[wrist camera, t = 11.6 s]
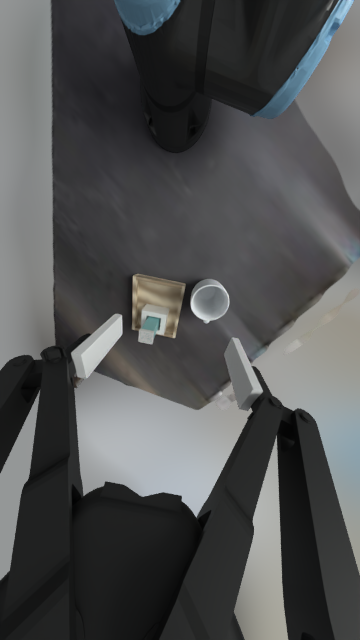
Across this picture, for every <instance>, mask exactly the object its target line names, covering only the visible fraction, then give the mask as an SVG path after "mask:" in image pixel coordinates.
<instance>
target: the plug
mask: <svg viewBox="0 0 360 640" xmlns="http://www.w3.org/2000/svg"><path fill="white" fill-rule="evenodd" d="M159 325H160V318H157V317H152V316H149V317H148V319H147V320H146V322H145V323H144V325H143V327H142V328H140V330H139V342H143V343H148V344H152V343H153V339H154V337H155V334H156V332H157V330H158V327H159Z"/></svg>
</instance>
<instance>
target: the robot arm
mask: <svg viewBox="0 0 360 640" xmlns="http://www.w3.org/2000/svg"><path fill="white" fill-rule="evenodd" d="M114 1H115V5H116V7H117V9H118V13H119V14H120V17H121V20H122V23H123V26H124V29H125V32H126V35H127V38H128V41H129V44H130V47H131V50H132V53H133V56H134V59H135V62H136V65H137V68H138V71H139V74H140V87H141V102H142V108H143V112H144V116H145V119H146V122H147V125H148V127H149V130H150V132H151V134H152V136H153V137H154V139H155V140H156V142H157V143H158V144H159V145H160V146H161V147H162V148H164V149H165V150H167V151H170V152H176V153H177V152H183V151H185V150H187V149H189V148H190V147H192V146H193V145H194V144H195V143H196V142H197V140H198V139H199V138H200V136H201V134H202V133H203V131H204V128H205V126H206V123H207V120H208V117H209V113H210V107H211V99H214V100H217V101H219V102H221V103H224V104H226V105H229V106H231V107H233V108H236V109H238V110H241V111H243V112H245V113H248V114H249V115H250V116H253V117H255V116H259V117H263V118H267V119H273V118H275V117H277V116H279V115H280V114H281V113H282V112H284V111H285V110H286V108H287V107H288V106H289V105H290V104H291V103H292V102H293V100H294V99H295V98H296V96H297V95H298V93H299V92H300V91H301V89H302V88H303V86H304V85H305V84H306V82H307V80H308V79H309V77H310V76H311V74H312V72H313V71H314V70H315V68H316V66H317V65H318V63H319V62H320V60H321V58H322V57H323V55H324V53H325V52H326V50H327V48H328V46H329V43H330V40H331V38H332V36H333V35H334V33H335V32H336V30H337V29H338V28H339V26H340V25H341V23H342V21H343V20H344V18H345V16H346V14H347V12H348V11H349V9H350V7H351V5H352V3H353V1H354V0H114ZM121 335H122V315H120V314H114V315H113V316H112V317H111V318H110V319H109V320H108V321H106V322H105V323H104V324H103V325H102V326H101V327H100V328H99V329H97V330H96V331H95V332H94V333H93V334H86V335H84V336H82V337H81V338H79V339H78V340H77V341H76V342H75V343H73V344H72V345H71V346H70V347H68V348H67V349H66V350H65V349H64V347H62V346H58V345H57V346H51V347H48V348H46V349H44V350H43V351H42V352H41V354H40V355H41V357H42V360H33V358H32V356H30V355H22V356H18V357H15V358H13V359H11V360H9V362H7V363H6V364H5V366H4V367H3V368H2V369H1V370H0V473H1V471H2V469H3V466H4V464H5V462H6V460H7V458H8V456H9V454H10V452H11V450H12V447H13V445H14V443H15V441H16V439H17V437H18V435H19V433H20V431H21V429H22V426H23V424H24V422H25V420H26V418H27V416H28V414H29V412H30V410H31V407H32V405H33V403H34V401H35V399H36V397H37V394H38V393H39V390H40V396H39V404H38V412H37V420H36V428H35V436H34V444H33V452H32V460H31V469H30V475H29V479H28V481H27V482H26V483H25V484H24V487H23V490H22V494H21V499H20V506H19V513H18V520H17V526H16V533H15V540H14V547H13V553H12V560H11V567H10V571H9V572H8V573H7V574H6V575H5V576H4V577H3V578H2V580H0V640H245V639H244V637H243V634H242V632H241V629H240V626H239V624H238V621H237V619H236V616H235V614H234V608H235V604H236V600H237V596H238V593H239V589H240V585H241V581H242V578H243V574H244V570H245V566H246V562H247V559H248V554H249V551H250V547H251V543H252V539H253V535H254V526H253V523H252V521H253V516H254V512H255V508H256V505H257V501H258V498H259V495H260V491H261V487H262V484H263V481H264V477H265V473H266V470H267V467H268V463H269V459H270V456H271V452H272V449H273V446H274V442H275V439H276V435H277V450H278V474H279V475H278V476H279V502H280V503H279V504H280V531H281V556H282V584H283V598H284V609H285V617H286V624H287V633H288V639H289V640H360V575H359V572H358V568H357V564H356V561H355V557H354V554H353V550H352V547H351V543H350V540H349V537H348V533H347V529H346V526H345V522H344V519H343V515H342V511H341V508H340V505H339V501H338V498H337V494H336V490H335V487H334V483H333V480H332V476H331V473H330V469H329V466H328V462H327V458H326V455H325V451H324V448H323V444H322V441H321V437H320V434H319V430H318V427H317V424H316V421H315V420H314V419H313V417H312V416H311V415H310V414H309V413H307V412H306V411H304V410H302V409H296V410H295V411H292V410H290V409H288V408H286V407H284V406H283V405H282V403H281V402H280V401H279V400H278V399H277V398H276V397H274V396H272V394H271V392H270V390H269V388H268V386H267V385H266V383H265V381H264V379H263V377H262V375H261V373H260V371H259V370H258V369H257V368H256V367H254V366H251V364H250V362H249V360H248V358H247V356H246V354H245V352H244V350H243V347H242V345H241V343H240V341H239V339H238V338H233V337H232V338H231V340H230V343H229V345H228V347H227V349H226V351H225V354H224V356H225V360H226V363H227V367H228V371H229V374H230V378H231V382H232V385H233V389H234V392H235V396H236V400H237V403H238V407H239V409H242V410H247V411H248V410H249V409H250V407H251V408H252V411H253V412H252V413H251V414H250V416H249V417H248V421H247V423H246V425H245V427H244V428H243V430H242V433H241V434H240V436H239V438H238V441H237V442H236V444H235V446H234V448H233V450H232V452H231V454H230V456H229V458H228V460H227V462H226V464H225V466H224V468H223V470H222V472H221V474H220V476H219V478H218V480H217V482H216V484H215V486H214V488H213V490H212V492H211V494H210V495H209V497H208V499H207V501H206V502H205V503H204V505H203V507H202V509H201V510H200V512H199V514H198V516H197V518H196V517H195V515H194V514H193V512H192V511H191V510H190V508H189V507H188V506H187V505H186V504H185V503H183V502H182V501H181V499H182V496H179V495H174V494H168V493H159V494H154V495H150V496H145V497H141V496H139V495H138V494H137V493H135V492H134V491H132V490H131V489H129V488H128V487H126V486H125V485H122V484H116V483H111V482H105V485H104V486H103V487H100V488H97V489H95V490H93V491H91V492H89V493H88V494H86V495H85V496H83V487H82V480H81V475H80V464H79V450H78V437H77V423H76V408H75V394H74V379H73V376H74V375H75V373H77V377H80V378H85V379H87V377H89V375H90V374H91V373H92V372H93V370H94V369H95V368H96V367H97V365H98V364H99V363H100V362H101V360H102V359H103V358H104V357H105V355H106V354H107V353H108V352H109V350H110V349H111V348H112V347H113V345H114V344H115V343H116V342H117V340H118V339H119V338H120V337H121Z"/></svg>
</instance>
